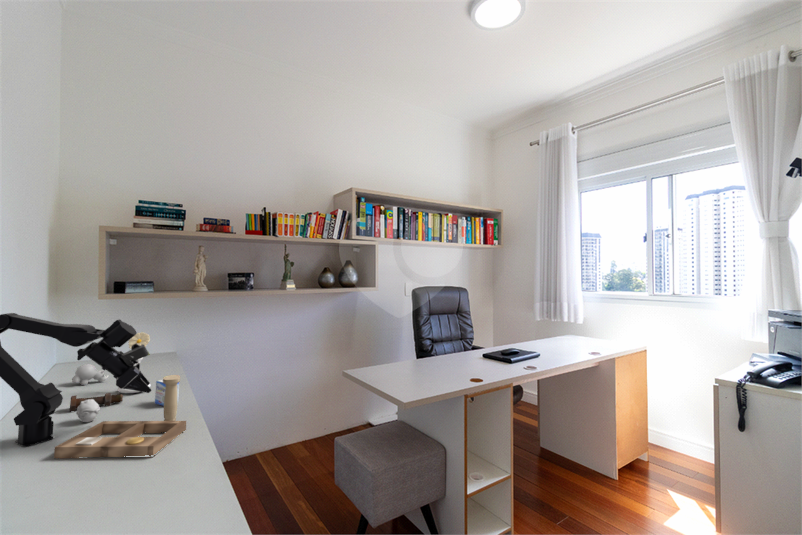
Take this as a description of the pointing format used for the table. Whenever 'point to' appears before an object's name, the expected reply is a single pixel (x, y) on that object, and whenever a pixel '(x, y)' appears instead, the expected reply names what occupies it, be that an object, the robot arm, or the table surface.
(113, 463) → the table surface
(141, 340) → the flower in vase
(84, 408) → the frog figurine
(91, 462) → the table surface
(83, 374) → the chubby cartoon animal
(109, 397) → the bolt
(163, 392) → the medicine box
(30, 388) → the robot arm
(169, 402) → the handle
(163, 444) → the socket board
